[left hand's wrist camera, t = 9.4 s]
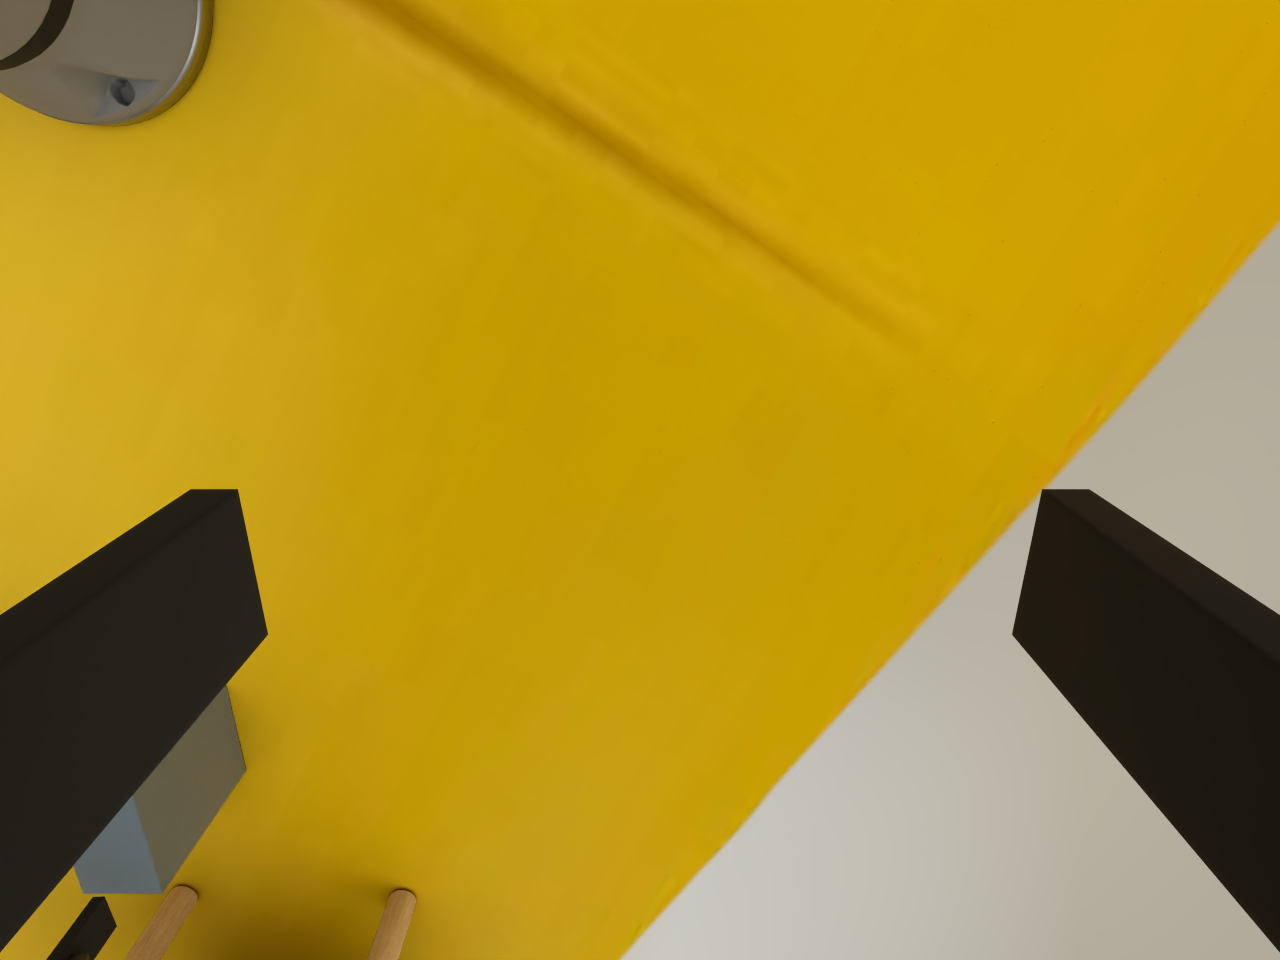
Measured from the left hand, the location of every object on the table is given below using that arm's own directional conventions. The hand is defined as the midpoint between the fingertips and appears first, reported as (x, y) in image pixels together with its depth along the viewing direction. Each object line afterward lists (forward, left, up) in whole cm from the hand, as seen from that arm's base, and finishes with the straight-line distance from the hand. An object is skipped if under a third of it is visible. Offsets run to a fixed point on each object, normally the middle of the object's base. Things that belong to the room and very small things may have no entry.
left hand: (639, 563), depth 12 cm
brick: (-21, -46, -39) cm, 64 cm away
